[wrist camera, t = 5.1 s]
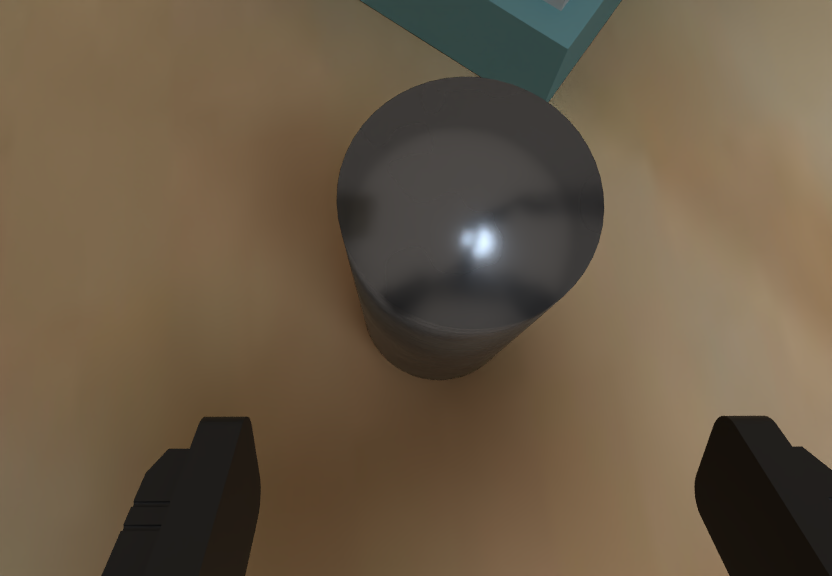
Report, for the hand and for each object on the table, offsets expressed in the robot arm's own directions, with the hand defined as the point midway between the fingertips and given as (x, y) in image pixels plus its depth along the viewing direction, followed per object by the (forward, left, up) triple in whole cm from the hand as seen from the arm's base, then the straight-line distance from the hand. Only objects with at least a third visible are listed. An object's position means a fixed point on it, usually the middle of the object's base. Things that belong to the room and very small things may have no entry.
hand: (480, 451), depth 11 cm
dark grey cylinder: (+3, -4, -10) cm, 11 cm away
